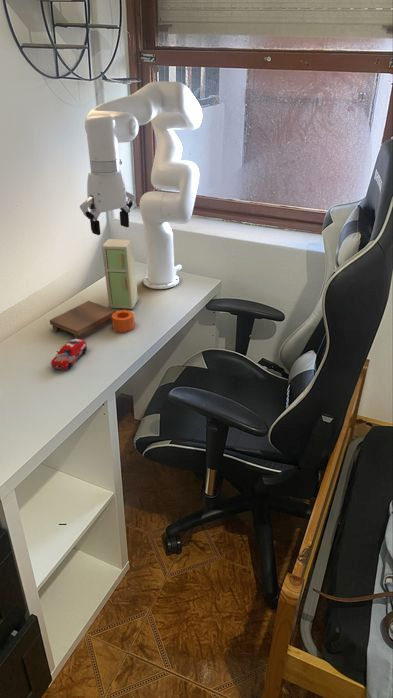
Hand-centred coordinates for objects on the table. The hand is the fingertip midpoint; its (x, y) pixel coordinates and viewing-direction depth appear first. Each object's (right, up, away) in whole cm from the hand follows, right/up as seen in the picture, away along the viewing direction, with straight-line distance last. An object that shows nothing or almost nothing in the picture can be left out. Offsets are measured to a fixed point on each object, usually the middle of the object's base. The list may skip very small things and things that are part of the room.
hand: (110, 230), depth 147 cm
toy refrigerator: (0, -19, +24) cm, 31 cm away
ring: (+2, -27, +11) cm, 29 cm away
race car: (-10, -36, -4) cm, 38 cm away
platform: (-10, -26, +12) cm, 31 cm away
